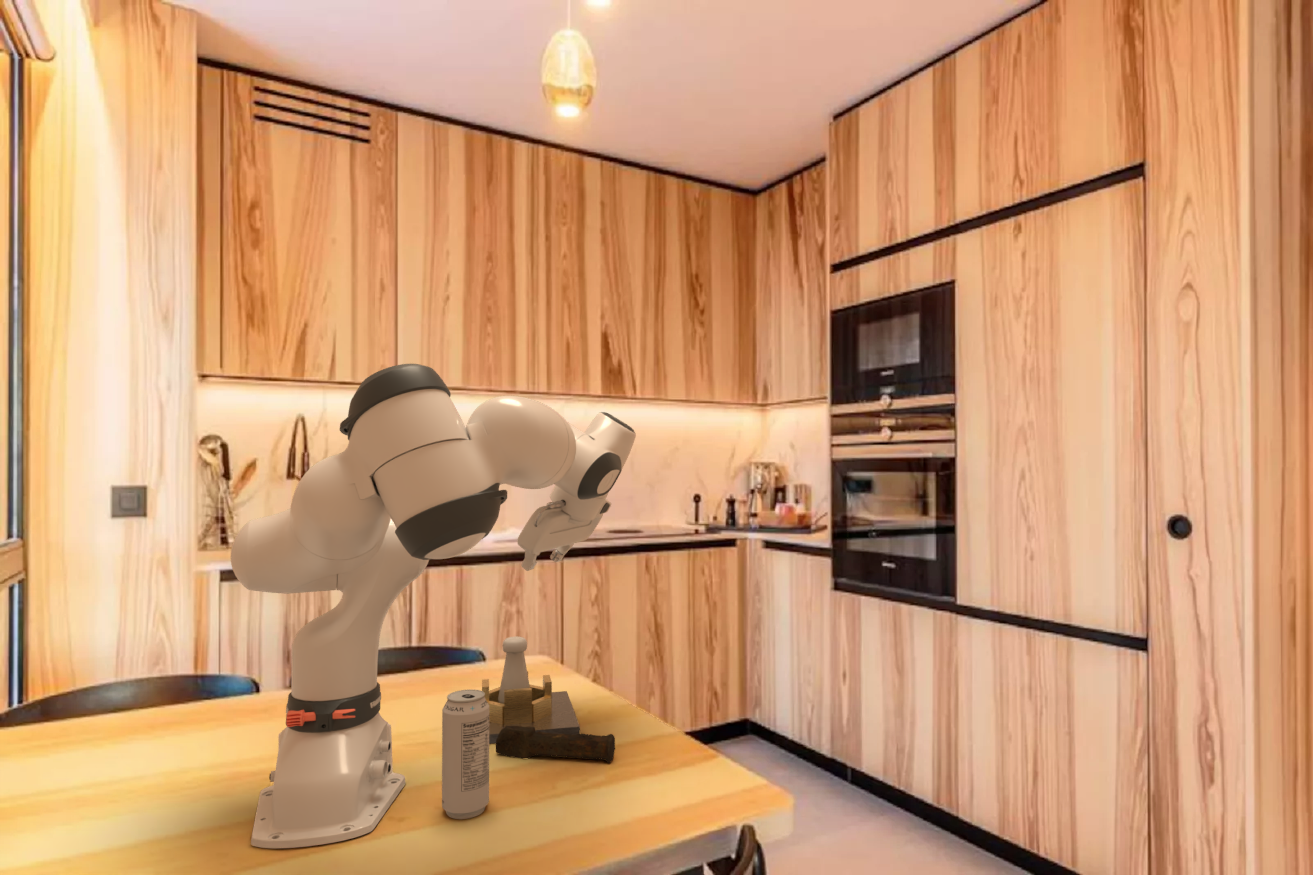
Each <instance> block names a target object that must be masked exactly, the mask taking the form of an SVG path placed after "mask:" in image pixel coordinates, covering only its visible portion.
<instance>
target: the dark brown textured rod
mask: <svg viewBox="0 0 1313 875" xmlns="http://www.w3.org/2000/svg"><path fill="white" fill-rule="evenodd" d="M494 744H495V752H496V753H497V754H498V755H501V756H505V757H510V758H518V759H523V758H528V759H530V758H533V757H534V756H535V757H536V756H539V757H541V756H544V757H561V758H573V759H587V760H593V761H595V760H603V761H604V760H605V761H606V762H607V764H608V765H610V764H611V763H612V762H613V760H614V756H615V751H616V737H615V735H614V734H613V733H610V734H607V735H600V734H599V735H598V734H589V733H580V734H555V733H545V732H536V731H535V727H522V726H505V728H503V729H502V730H501V731H500V733H499V735H498V737H497V739H496V743H494Z"/></svg>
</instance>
